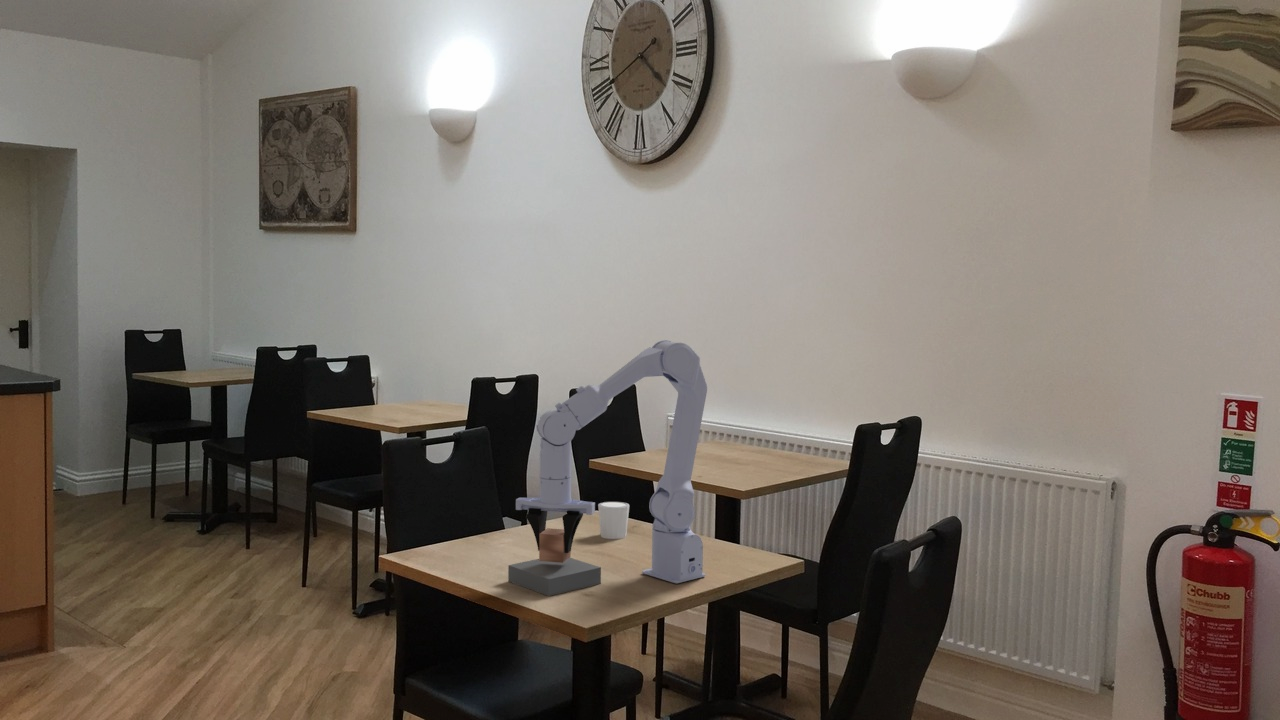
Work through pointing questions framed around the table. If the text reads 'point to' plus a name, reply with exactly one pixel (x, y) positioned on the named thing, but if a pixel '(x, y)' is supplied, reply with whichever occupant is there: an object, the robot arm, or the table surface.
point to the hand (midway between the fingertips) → (554, 550)
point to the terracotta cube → (552, 546)
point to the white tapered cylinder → (613, 519)
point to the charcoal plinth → (554, 575)
